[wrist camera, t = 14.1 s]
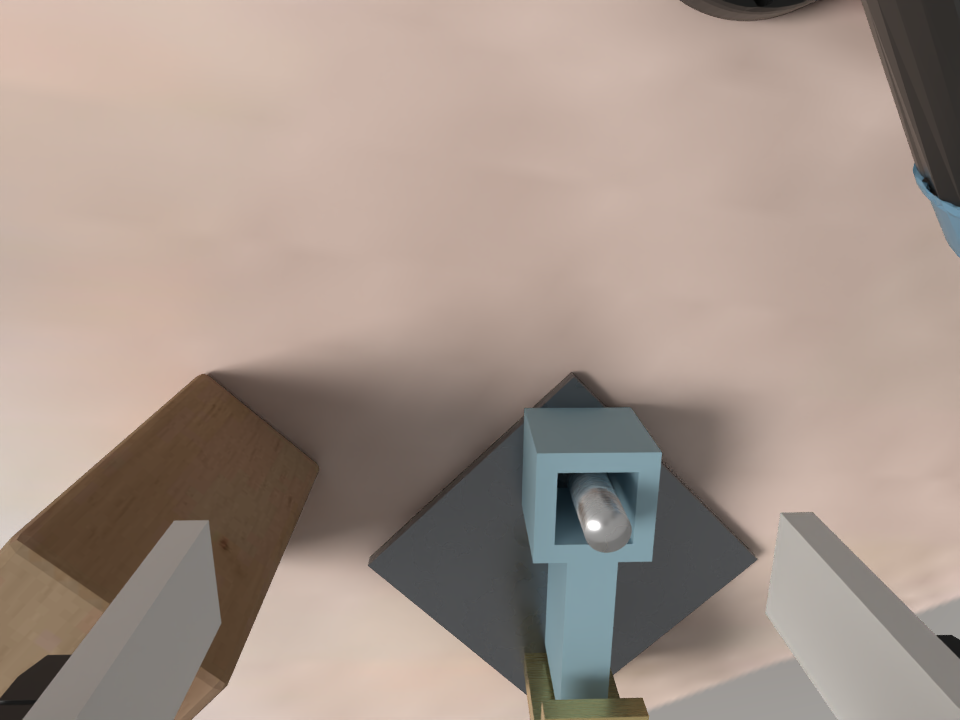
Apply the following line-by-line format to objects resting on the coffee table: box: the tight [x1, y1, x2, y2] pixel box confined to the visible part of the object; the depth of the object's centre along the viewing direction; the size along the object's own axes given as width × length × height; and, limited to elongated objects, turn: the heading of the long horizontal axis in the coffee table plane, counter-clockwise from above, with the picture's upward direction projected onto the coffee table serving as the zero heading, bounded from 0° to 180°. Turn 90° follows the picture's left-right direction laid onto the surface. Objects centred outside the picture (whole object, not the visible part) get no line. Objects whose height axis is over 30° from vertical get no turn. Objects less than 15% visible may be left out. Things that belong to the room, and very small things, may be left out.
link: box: [522, 407, 662, 700], centre depth 44 cm, size 18×7×7 cm, turn 0°
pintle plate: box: [368, 372, 757, 720], centre depth 43 cm, size 20×20×11 cm
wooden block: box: [0, 374, 319, 720], centre depth 36 cm, size 10×10×20 cm
